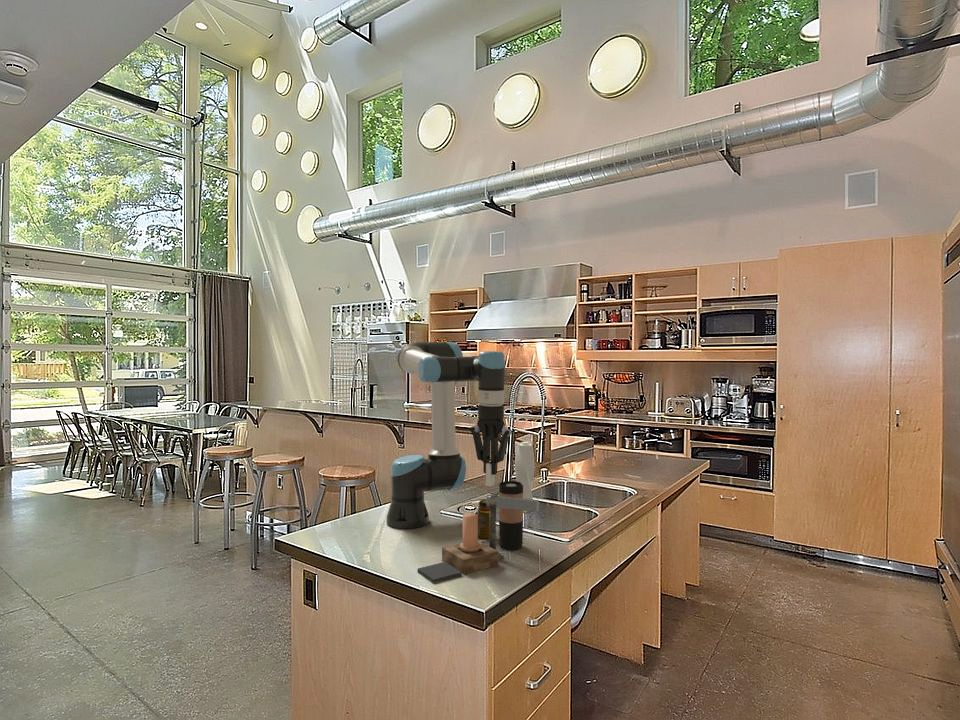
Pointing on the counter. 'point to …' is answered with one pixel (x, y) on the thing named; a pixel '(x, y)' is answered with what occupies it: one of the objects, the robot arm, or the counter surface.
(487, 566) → the socket block
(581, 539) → the counter surface
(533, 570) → the counter surface
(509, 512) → the travel mug
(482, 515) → the condiment
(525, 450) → the skyscraper
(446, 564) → the mat
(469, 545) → the peg
